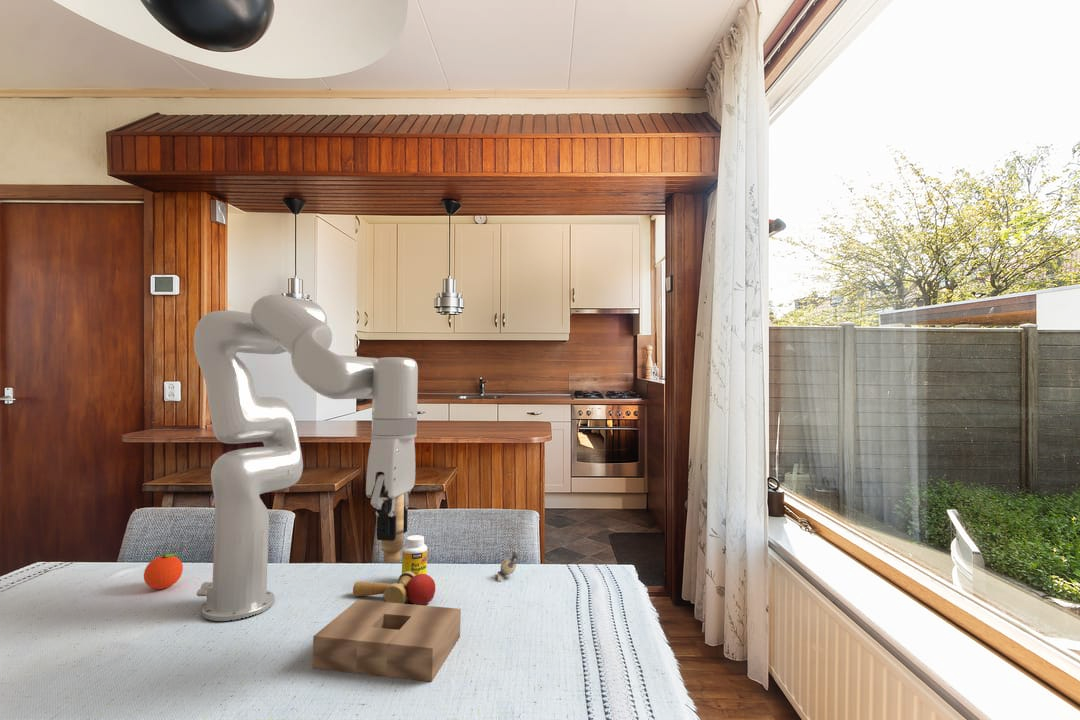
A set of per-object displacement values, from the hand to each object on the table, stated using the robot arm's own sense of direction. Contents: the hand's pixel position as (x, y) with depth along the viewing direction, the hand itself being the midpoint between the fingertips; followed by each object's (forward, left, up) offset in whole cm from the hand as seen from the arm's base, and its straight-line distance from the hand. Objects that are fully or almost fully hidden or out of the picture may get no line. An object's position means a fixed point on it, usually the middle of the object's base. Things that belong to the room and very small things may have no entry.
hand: (392, 534), depth 88 cm
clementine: (-60, +16, -20) cm, 65 cm away
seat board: (0, 0, -20) cm, 20 cm away
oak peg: (0, 0, -4) cm, 4 cm away
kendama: (-8, +20, -20) cm, 29 cm away
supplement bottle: (-8, +29, -20) cm, 36 cm away
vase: (+13, +37, -20) cm, 44 cm away
